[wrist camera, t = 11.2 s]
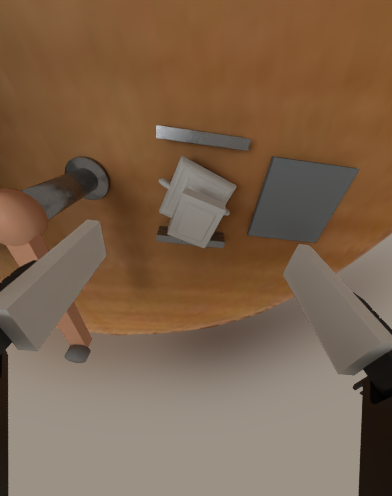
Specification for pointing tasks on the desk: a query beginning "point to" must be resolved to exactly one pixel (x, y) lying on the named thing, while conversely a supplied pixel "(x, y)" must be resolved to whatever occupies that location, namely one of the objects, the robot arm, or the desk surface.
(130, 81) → the desk surface
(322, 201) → the pad
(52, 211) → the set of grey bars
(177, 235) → the stamp
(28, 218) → the ball-knob lever
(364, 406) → the robot arm
